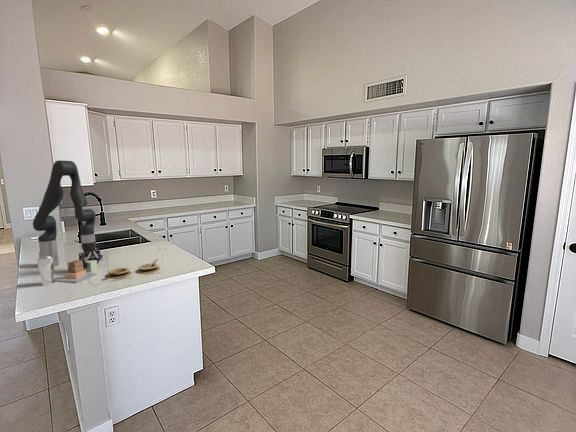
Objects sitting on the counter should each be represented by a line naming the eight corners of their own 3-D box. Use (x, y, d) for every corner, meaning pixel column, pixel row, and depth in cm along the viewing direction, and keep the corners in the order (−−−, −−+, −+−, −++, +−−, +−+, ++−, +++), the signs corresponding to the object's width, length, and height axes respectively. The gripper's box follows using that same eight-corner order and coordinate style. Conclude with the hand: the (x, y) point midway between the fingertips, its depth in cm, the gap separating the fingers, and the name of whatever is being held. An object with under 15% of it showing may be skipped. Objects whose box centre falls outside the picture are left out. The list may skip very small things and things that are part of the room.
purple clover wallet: (84, 258, 212) (89, 254, 222) (84, 262, 212) (89, 259, 222) (99, 256, 214) (103, 253, 225) (99, 261, 215) (104, 257, 225)
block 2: (84, 271, 195) (83, 262, 194) (90, 269, 200) (90, 260, 199) (91, 271, 194) (90, 262, 193) (97, 269, 199) (96, 260, 198)
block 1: (68, 272, 180) (67, 262, 179) (75, 269, 185) (74, 260, 184) (75, 273, 179) (74, 263, 178) (83, 270, 184) (82, 260, 183)
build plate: (55, 281, 177) (54, 274, 176) (76, 273, 191) (75, 267, 190) (76, 283, 174) (75, 276, 174) (96, 274, 188) (95, 268, 187)
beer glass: (59, 281, 177) (56, 256, 175) (50, 285, 170) (47, 259, 168) (46, 281, 177) (43, 256, 174) (37, 286, 170) (33, 259, 168)
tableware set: (157, 265, 208) (156, 257, 208) (163, 273, 192) (162, 264, 191) (106, 273, 193) (105, 264, 192) (107, 283, 176) (106, 272, 175)
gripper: (92, 238, 201) (94, 262, 204) (73, 243, 188) (76, 269, 190) (102, 238, 200) (104, 263, 202) (84, 244, 186) (87, 270, 189)
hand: (91, 266), depth 196 cm, fingers open, 8 cm apart
